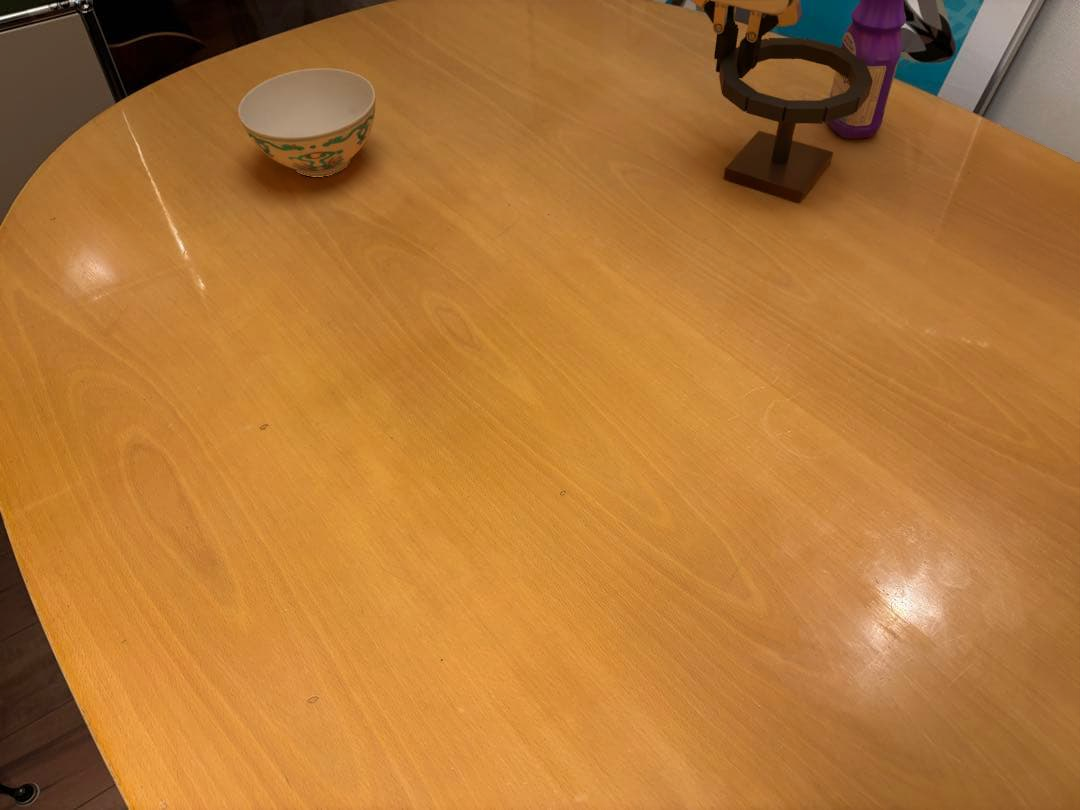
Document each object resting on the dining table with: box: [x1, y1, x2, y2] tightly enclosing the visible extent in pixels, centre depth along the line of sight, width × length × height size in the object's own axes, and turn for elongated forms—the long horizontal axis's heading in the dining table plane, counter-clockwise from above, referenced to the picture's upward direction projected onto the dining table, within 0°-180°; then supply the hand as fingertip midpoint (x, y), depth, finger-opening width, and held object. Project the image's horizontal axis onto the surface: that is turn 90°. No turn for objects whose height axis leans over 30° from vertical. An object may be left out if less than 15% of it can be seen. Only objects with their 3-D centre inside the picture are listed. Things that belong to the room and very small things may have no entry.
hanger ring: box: [718, 37, 873, 125], centre depth 89 cm, size 15×15×2 cm
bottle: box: [828, 0, 907, 139], centre depth 97 cm, size 7×6×17 cm
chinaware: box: [237, 67, 376, 177], centre depth 99 cm, size 15×15×8 cm
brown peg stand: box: [723, 121, 834, 204], centre depth 95 cm, size 9×9×8 cm
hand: (734, 68), depth 92 cm, fingers closed on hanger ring, 1 cm apart
